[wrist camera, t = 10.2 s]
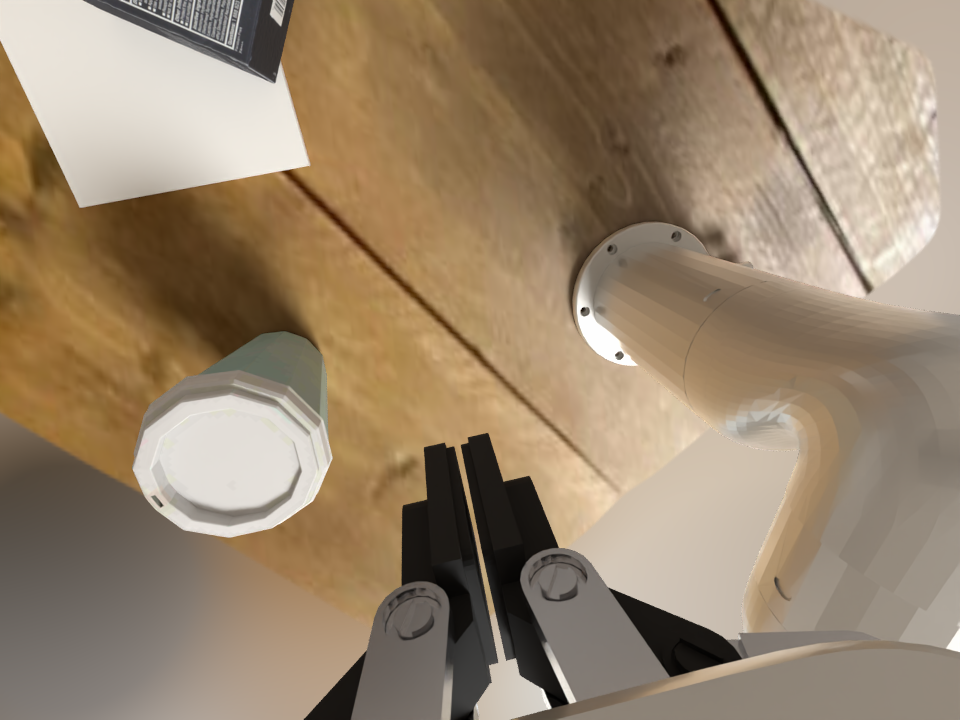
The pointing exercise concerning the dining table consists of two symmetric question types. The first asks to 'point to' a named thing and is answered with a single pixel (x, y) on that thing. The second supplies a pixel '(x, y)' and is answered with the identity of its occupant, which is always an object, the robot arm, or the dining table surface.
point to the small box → (215, 28)
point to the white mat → (143, 104)
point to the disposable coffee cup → (239, 439)
